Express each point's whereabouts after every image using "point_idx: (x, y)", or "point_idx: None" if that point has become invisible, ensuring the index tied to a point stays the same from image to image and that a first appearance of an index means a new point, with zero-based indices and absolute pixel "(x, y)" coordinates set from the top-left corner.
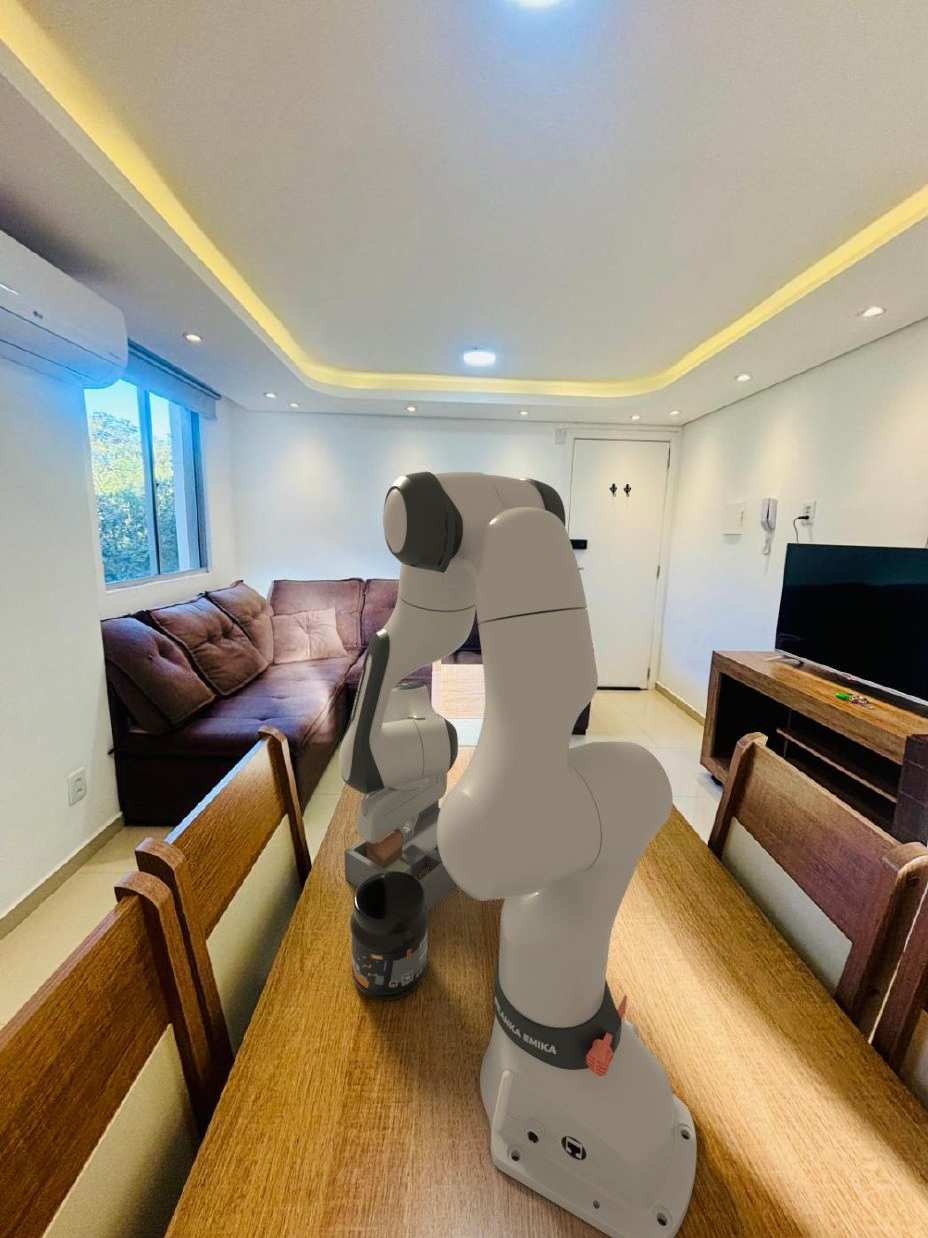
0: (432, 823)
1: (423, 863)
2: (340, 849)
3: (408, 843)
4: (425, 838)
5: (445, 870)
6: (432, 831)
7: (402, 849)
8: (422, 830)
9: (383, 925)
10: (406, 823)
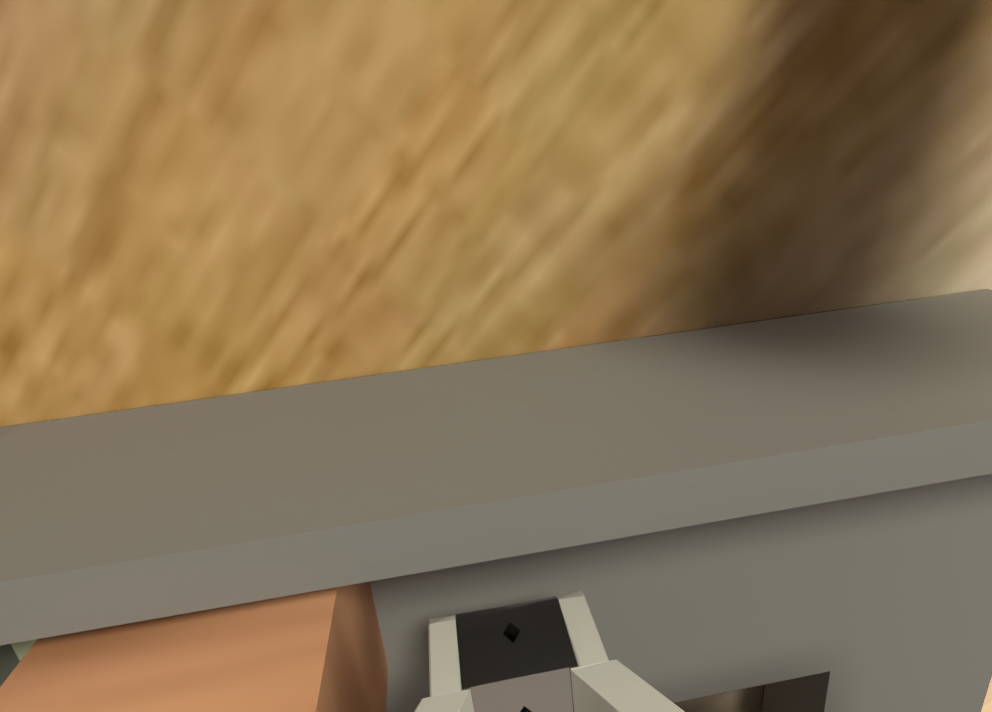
0: (854, 503)
1: None
2: (91, 40)
3: (531, 578)
4: (664, 608)
5: None
6: (766, 575)
7: (442, 610)
8: (731, 524)
9: None
10: (593, 704)
